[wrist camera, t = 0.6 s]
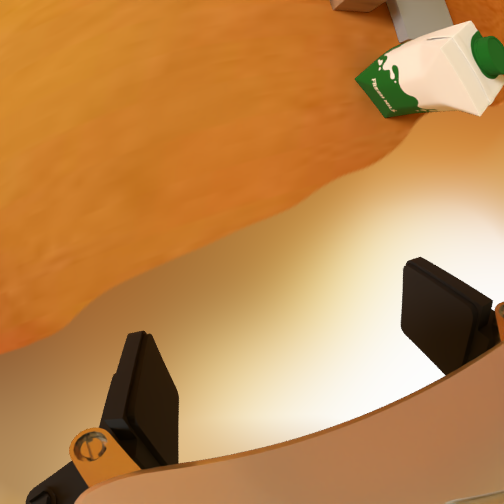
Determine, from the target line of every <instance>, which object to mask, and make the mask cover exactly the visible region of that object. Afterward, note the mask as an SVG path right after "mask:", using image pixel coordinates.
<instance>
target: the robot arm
mask: <svg viewBox="0 0 504 504" xmlns="http://www.w3.org/2000/svg"><path fill="white" fill-rule="evenodd" d="M402 295H403V296H402V314H401V329H402V331H403V332H404V334H405V335H406V336H407V337H408V338H409V339H410V340H412V342H413V343H414V344H415V345H416V346H417V347H418V348H419V349H420V350H421V351H422V352H423V353H424V354H425V355H426V356H427V357H428V358H429V359H430V360H431V361H432V362H433V363H434V364H435V365H436V366H437V367H438V368H439V369H440V370H441V371H442V372H443V373H444V374H445V375H446V376H444V377H443V378H441V379H439V380H437V381H435V382H433V383H431V384H429V385H428V386H426V387H424V388H422V389H420V390H418V391H416V392H414V393H412V394H410V395H408V396H405V397H403V398H401V399H399V400H397V401H395V402H393V403H390V404H388V405H386V406H384V407H381V408H379V409H377V410H374V411H372V412H369V413H367V414H365V415H362V416H360V417H357V418H355V419H352V420H350V421H347V422H344V423H341V424H338V425H336V426H333V427H330V428H327V429H324V430H321V431H318V432H315V433H312V434H309V435H306V436H302V437H299V438H296V439H292V440H289V441H285V442H282V443H278V444H274V445H271V446H266V447H262V448H258V449H254V450H249V451H245V452H240V453H236V454H231V455H226V456H222V457H217V458H211V459H205V460H199V461H192V462H186V463H180V464H178V415H179V411H178V410H179V396H178V391H177V389H176V387H175V385H174V383H173V380H172V378H171V376H170V374H169V372H168V370H167V368H166V366H165V363H164V361H163V359H162V357H161V355H160V352H159V350H158V348H157V345H156V343H155V341H154V339H153V336H152V335H151V334H146V332H145V331H139V332H135V333H130V334H128V336H127V339H126V342H125V345H124V349H123V352H122V355H121V358H120V363H119V365H118V369H117V372H116V373H115V374H114V376H113V378H112V381H111V385H110V389H109V392H108V395H107V399H106V403H105V406H104V410H103V414H102V418H101V422H100V426H99V428H90V429H86V430H84V431H82V432H80V433H79V434H78V435H77V436H76V437H75V438H74V439H73V441H72V442H71V445H70V447H69V454H70V457H71V459H72V461H71V462H69V463H68V464H67V465H65V466H64V467H63V468H61V469H60V470H58V471H57V472H56V473H54V474H53V475H52V476H50V477H49V478H47V479H46V480H45V481H43V482H42V483H40V484H39V485H37V486H36V487H35V488H33V489H32V490H31V491H30V493H29V495H28V496H27V499H26V504H504V302H502V303H499V304H498V305H497V306H496V308H495V311H493V310H492V309H491V307H492V303H493V300H491V299H490V298H488V297H487V296H485V295H483V294H482V293H480V292H479V291H477V290H475V289H474V288H472V287H471V286H469V285H468V284H466V283H464V282H463V281H461V280H459V279H458V278H456V277H454V276H453V275H451V274H449V273H448V272H446V271H444V270H443V269H441V268H439V267H438V266H436V265H434V264H432V263H431V262H429V261H427V260H425V259H424V258H422V257H419V258H415V259H412V260H409V261H407V263H406V266H404V269H403V294H402Z"/></svg>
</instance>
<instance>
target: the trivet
mask: <svg viewBox="0 0 504 504" xmlns="http://www.w3.org/2000/svg"><path fill="white" fill-rule="evenodd" d="M386 3H387V6H388V9H389V12H390V15H391V17H392V20H393V23H394V27H395V30H396V33H397V36H398V39H399V43H405V42H408V41H410V40H413V39H415V38H418V37H421V36H423V35H426V34H429V33H432V32H435V31H438V30H441V29H444V28H447V27H450V26H453V22H452V19H451V16H450V14H449V11H448V8H447V5H446V3H445V0H387V1H386Z"/></svg>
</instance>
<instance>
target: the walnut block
mask: <svg viewBox="0 0 504 504" xmlns="http://www.w3.org/2000/svg"><path fill="white" fill-rule="evenodd" d="M386 1H387V0H330V3H331V6H332V9H333V10H341V11H359V12H370V11H372V10H373V9H375V8H376V7H378V6H379V5H381V4H383V3H384V2H386Z"/></svg>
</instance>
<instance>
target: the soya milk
mask: <svg viewBox="0 0 504 504" xmlns="http://www.w3.org/2000/svg"><path fill="white" fill-rule="evenodd" d="M503 75H504V46H503V45H502V43H501V42H500V41H499V40H498V39H497V38H496V37H494V36H488V37H482V36H481V34H480V32H479V31H477V29H476V27H475V26H474V24H473V23H472V21H467V22H464V23H460V24H457V25H453V26H450V27H447V28H444V29H441V30H438V31H435V32H432V33H429V34H426V35H423V36H421V37H418V38H415V39H413V40H410V41H408V42H405V43H403V44H400V45H398V46H395V47H393V48H391V49H390V50H388V51H387V52H386V53H384V54H383V55H382V56H380V57H379V58H378V59H377V60H376V61H374V62H373V63H372V64H371V65H370V66H369V67H368V68H366V69H365V70H364V71H363V72H362V73H361V74H360V75H359V76H357V77H356V78H355V80H356V81H357V83H358V84H359V85H360V86H361V88H362V89H363V90H364V91H365V93H366V94H367V95H368V96H369V98H370V99H371V100H372V101H373V103H374V104H375V105H376V107H377V108H378V109H379V111H380V112H381V113H382V115H383V116H384V118H388V117H394V116H400V115H407V114H413V113H425V112H440V111H462V112H466V113H469V114H473V115H476V116H481V115H482V113H483V112H484V111H485V110H486V108H487V107H488V105H491V104H492V102H493V101H494V98H495V97H496V96H497V94H498V93H499V91H500V90H501V88H502V86H503V85H504V77H503Z"/></svg>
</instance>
